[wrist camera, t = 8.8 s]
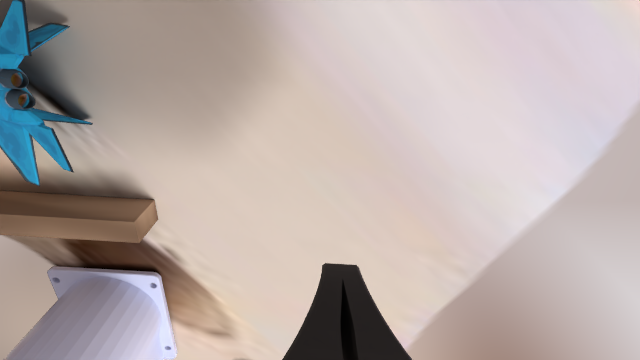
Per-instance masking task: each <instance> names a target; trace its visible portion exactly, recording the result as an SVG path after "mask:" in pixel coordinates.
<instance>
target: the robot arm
mask: <svg viewBox="0 0 640 360" xmlns="http://www.w3.org/2000/svg"><path fill="white" fill-rule="evenodd" d="M47 273H48V276H49V278H50V281H51V283H52V286H53V288H54V290H55V292H56V295H57V297H58V301H57V302H56V303H55V304H54V305H53V306H52V307H51V308H50V309H49V311H48V312H47V313H46V314H45V315H44V316H43V317H42V318H41V319H40V320H39V321H38V322H37V323H36V325H35V326H34V327H33V328H32V329H31V330H30V331H29V332H28V333H27V334H26V336H25V337H24V338H23V339H22V340H21V341H20V342H19V343H18V344H17V345H16V346H15V347H14V349H13V350H12V351H11V352H10V353H9V354H8V355H7V356H6V357H5V358H4V359H3V360H163V359H174V358H175V357H176V355H177V348H176V344H175V339H174V335H173V330H172V325H171V321H170V316H169V312H168V307H167V302H166V298H165V293H164V288H163V284H162V279H161V276H160V275H159V274H158V273H156V272H145V271H128V270H111V269H93V268H76V267H59V266H54V267H51V268H50V269H49V270H48V272H47ZM154 283H155V284H154ZM282 360H412V359H411V357H410V356H409V355H408V354H407V352H406V351H405V350H404V348H403V347H402V345H401V344H400V343H399V341H398V340H397V338H396V337H395V335H394V334H393V332H392V331H391V329H390V328H389V326H388V325H387V323H386V322H385V320H384V318H383V317H382V315H381V313H380V311H379V310H378V308H377V306H376V304H375V302H374V301H373V299H372V297H371V295H370V293H369V291H368V289H367V287H366V285H365V282H364V280H363V278H362V275H361V273H360V270H359V267H358V266H357V265H345V264H328V263H325V264H324V265H322V274H321V279H320V282H319V286H318V289H317V292H316V295H315V297H314V300H313V303H312V305H311V307H310V310H309V312H308V314H307V316H306V318H305V321H304V323H303V325H302V327H301V329H300V331H299V332H298V334H297V336H296V338H295V340H294V341H293V343H292V345H291V347H290V348H289V350H288V351H287V353H286V355H285V356H284V358H283V359H282Z"/></svg>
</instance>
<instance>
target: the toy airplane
mask: <svg viewBox="0 0 640 360" xmlns="http://www.w3.org/2000/svg"><path fill="white" fill-rule="evenodd" d="M69 27H70V26H67V25H61V24H54V23H48V24H46V25H43V26H41V27H38V28H36V29H33V30H31V31H28V24H27V16H26V8H25V0H13V1H12V4H11V6H10V8H9V10H8V13H7V15H6V17H5V19H4V22H3V24H2V26H1V28H0V148H1V149H2V150H3V152H4V153H5V154H6V155H7V157H8V158H9V159H10V161H11V162H12V163H13V165H14V166H15V167H16V169H17V170H18V171H19V173H20V174H21V175H22V177H23V178H24V179H25V181H27V182H30V183H32V184H35V185H38V186H40V181H39V175H38V169H37V163H36V158H35V152H34V146H33V140H32V136H33V138H34V139H35V140H36V141H37V142H38V143H39V144H40V145H41V146H42V147H43V148H44V149H45V150H46V151H47V152H48V153H49V154H50V155H51V156H52V158H53V159H54V160H55V161H56V162H57V163H58V164H59V165H60V166H61V167H62V168H63V169H65V170H68V171H71V172H73V169H72V167H71V165H70V163H69V161H68V159H67V157H66V155H65V153H64V150H63V148H62V146H61V144H60V142H59V140H58V138H57V136H56V134H55V132H54V130H53V128H50V127H47V126H45V124H44V121H55V122H66V123H78V124H89V125H92V124H93V123H90V122H87V121H83V120H79V119H75V118H72V117H67V116H63V115H59V114H55V113H51V112H47V111H43V110H38V109H34V108H32V107H33V106H34V105H35V99H34V97H33V96H32V94H31V93H30V92H29V90H28V89H27V88H26V86H27V85H28V84H29V79H28V77H27V76H26V74H25V73H24V72H23V71H22V70H20V69H19V68H18V66H19V64H20V63H21V61H22V60H23V59H24V56H26V55H29V56H31V52H32V51H33V50H35V49H37V48H38V47H40V46H41V45H43V44H44V43H46V42H47V41H49V40H50V39H52V38H53V37H55V36H57V35H58V34H60V33H61V32H63V31H64V30H66V29H67V28H69Z"/></svg>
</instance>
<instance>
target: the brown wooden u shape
mask: <svg viewBox="0 0 640 360" xmlns="http://www.w3.org/2000/svg"><path fill="white" fill-rule="evenodd" d="M157 220H158V216H157V211H156V206H155V201H154V200H147V199H131V198H114V197H98V196H81V195H65V194H48V193H32V192H15V191H0V235H15V236H32V237H49V238H66V239H83V240H100V241H117V242H134V243H140V241H141V240H142V239H143V238H144V236H145V235H146V234H147V233H148V231H149V230H150V229H151V228H152V226H153V225H154V224H155V223H156V221H157Z"/></svg>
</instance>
